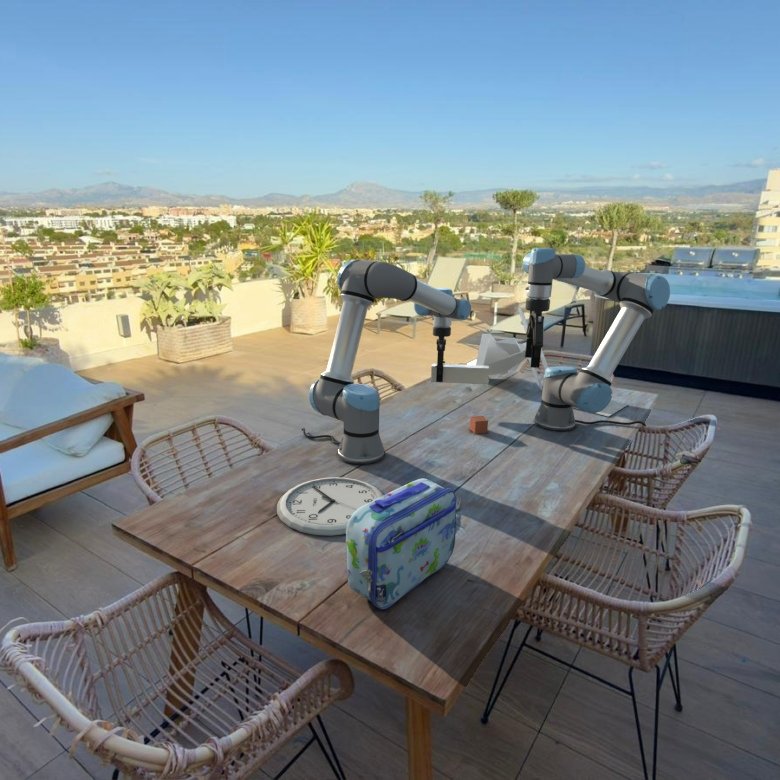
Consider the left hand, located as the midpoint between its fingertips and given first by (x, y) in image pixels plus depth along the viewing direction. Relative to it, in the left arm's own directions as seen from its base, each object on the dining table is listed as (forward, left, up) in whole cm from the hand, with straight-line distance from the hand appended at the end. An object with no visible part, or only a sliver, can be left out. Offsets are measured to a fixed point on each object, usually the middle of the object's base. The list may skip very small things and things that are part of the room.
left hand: (439, 379), depth 224 cm
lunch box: (+46, -112, -11) cm, 122 cm away
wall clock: (+14, -95, -11) cm, 96 cm away
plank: (+8, +3, 0) cm, 8 cm away
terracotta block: (+27, -21, -11) cm, 36 cm away
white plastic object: (+15, +45, -11) cm, 49 cm away
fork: (+43, -83, -11) cm, 94 cm away
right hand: (+46, -27, +20) cm, 57 cm away
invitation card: (+61, +35, -11) cm, 71 cm away
